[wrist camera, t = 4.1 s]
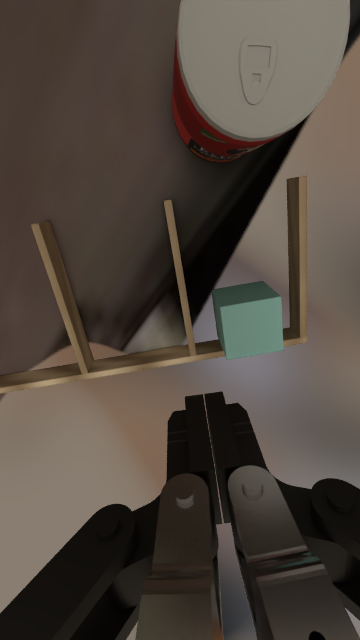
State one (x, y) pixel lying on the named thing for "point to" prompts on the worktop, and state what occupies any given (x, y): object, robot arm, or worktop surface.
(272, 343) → the plain green block
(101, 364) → the bay rack
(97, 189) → the worktop surface
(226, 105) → the canned food
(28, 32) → the worktop surface
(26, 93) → the worktop surface
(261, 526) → the robot arm
